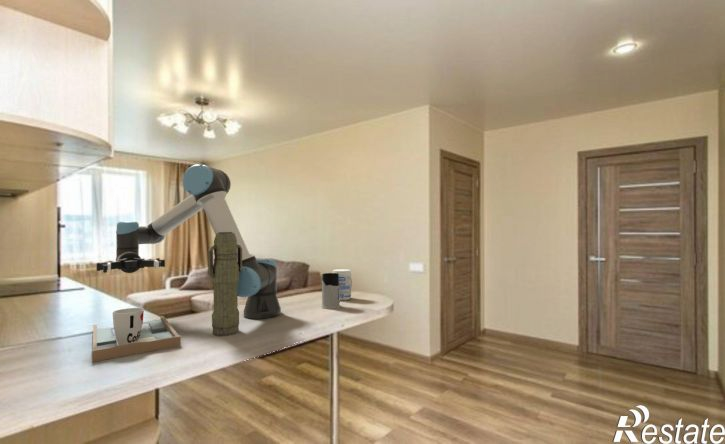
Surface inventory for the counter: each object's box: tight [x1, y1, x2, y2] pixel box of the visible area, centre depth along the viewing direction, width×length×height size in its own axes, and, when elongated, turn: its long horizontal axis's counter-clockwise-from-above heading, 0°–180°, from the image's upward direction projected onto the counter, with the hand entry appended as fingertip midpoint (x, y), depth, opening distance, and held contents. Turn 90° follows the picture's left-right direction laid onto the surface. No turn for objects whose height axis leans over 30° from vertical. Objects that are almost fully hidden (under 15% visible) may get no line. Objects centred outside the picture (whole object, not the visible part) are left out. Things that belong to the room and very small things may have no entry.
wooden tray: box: [91, 315, 182, 363], centre depth 121 cm, size 36×22×3 cm, turn 36°
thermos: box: [207, 232, 242, 337], centre depth 127 cm, size 9×12×35 cm
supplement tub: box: [332, 268, 352, 301], centre depth 185 cm, size 10×10×15 cm
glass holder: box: [320, 272, 353, 310], centre depth 167 cm, size 9×14×15 cm, turn 93°
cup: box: [112, 307, 145, 345], centre depth 112 cm, size 8×8×10 cm
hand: (134, 266), depth 121 cm, fingers open, 13 cm apart
